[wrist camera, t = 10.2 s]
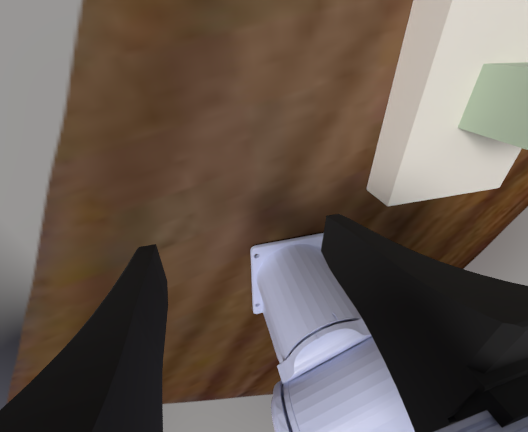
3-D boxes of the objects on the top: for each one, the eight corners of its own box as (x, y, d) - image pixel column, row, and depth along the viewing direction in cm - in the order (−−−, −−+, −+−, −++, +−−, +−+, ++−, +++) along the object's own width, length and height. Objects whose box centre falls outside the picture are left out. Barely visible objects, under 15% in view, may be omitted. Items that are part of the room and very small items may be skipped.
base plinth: (469, 174, 26) (499, 187, 24) (366, 189, 24) (387, 206, 21) (576, -46, 17) (639, -59, 15) (428, -61, 15) (477, -80, 12)
